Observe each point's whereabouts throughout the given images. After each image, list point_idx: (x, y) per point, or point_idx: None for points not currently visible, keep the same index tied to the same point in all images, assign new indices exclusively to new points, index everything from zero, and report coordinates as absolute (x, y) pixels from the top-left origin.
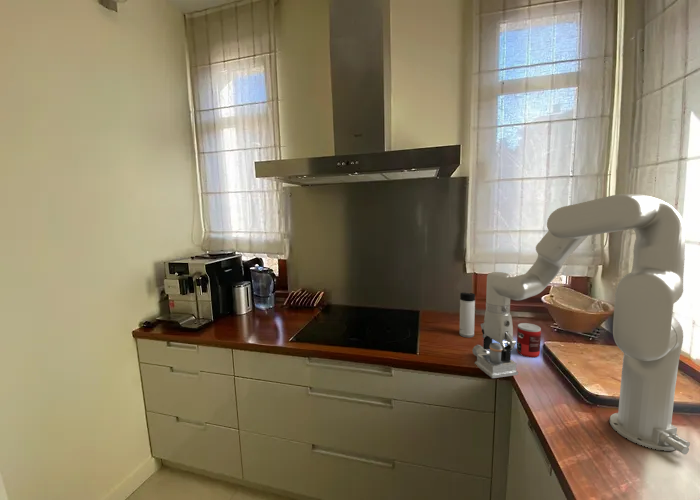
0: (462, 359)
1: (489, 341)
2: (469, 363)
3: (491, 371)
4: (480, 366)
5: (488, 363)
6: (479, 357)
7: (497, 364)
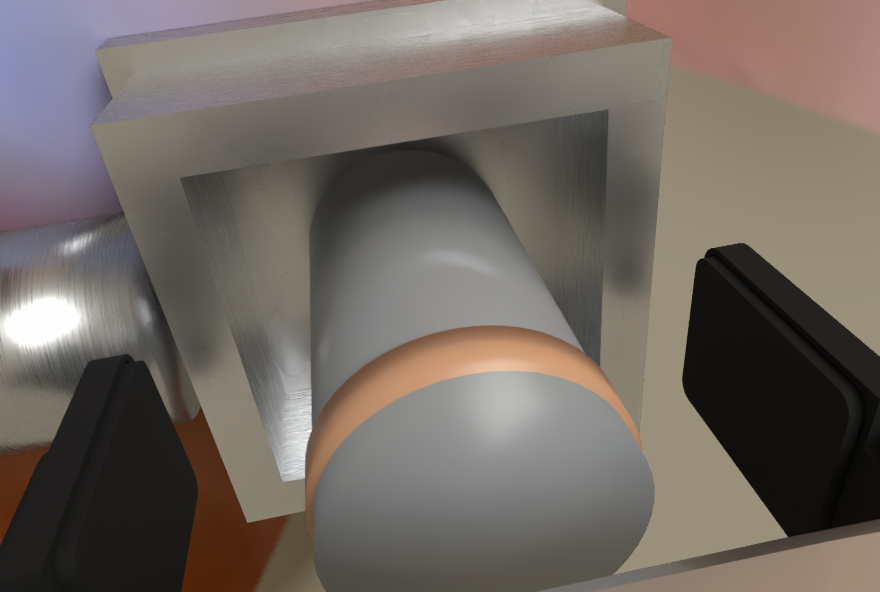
0: None
1: (126, 559)
2: (218, 465)
3: None
4: None
5: None
6: None
7: (610, 372)
